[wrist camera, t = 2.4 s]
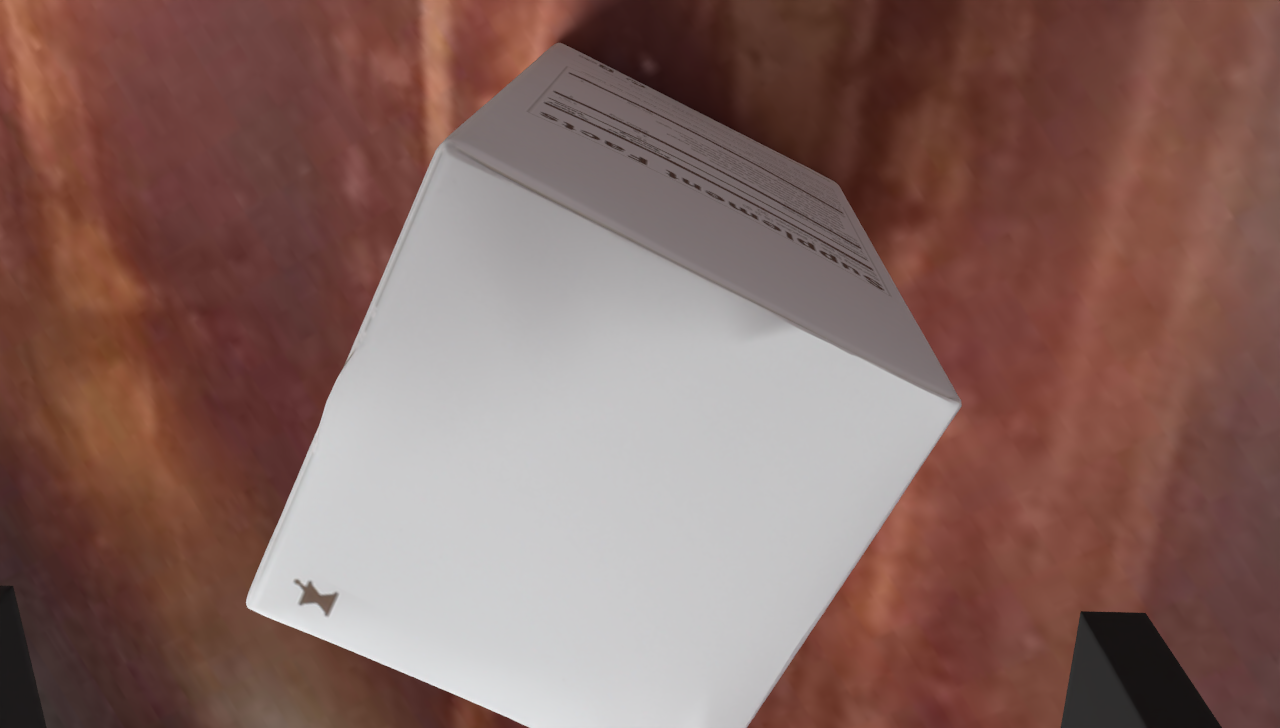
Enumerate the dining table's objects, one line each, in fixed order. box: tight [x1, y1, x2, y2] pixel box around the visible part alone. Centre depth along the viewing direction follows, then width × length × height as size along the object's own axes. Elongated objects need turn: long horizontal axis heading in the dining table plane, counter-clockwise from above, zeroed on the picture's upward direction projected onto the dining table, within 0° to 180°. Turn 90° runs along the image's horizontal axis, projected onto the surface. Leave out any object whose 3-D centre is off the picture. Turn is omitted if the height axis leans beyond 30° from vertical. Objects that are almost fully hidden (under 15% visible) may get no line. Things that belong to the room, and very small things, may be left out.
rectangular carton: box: [246, 43, 962, 728], centre depth 25 cm, size 9×9×15 cm
